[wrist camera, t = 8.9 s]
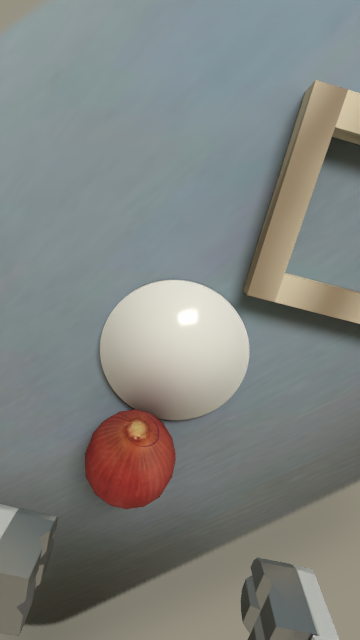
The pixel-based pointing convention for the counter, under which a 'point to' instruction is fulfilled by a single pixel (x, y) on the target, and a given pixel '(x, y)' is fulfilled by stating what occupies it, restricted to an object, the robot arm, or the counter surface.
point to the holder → (304, 205)
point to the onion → (130, 459)
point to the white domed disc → (174, 349)
